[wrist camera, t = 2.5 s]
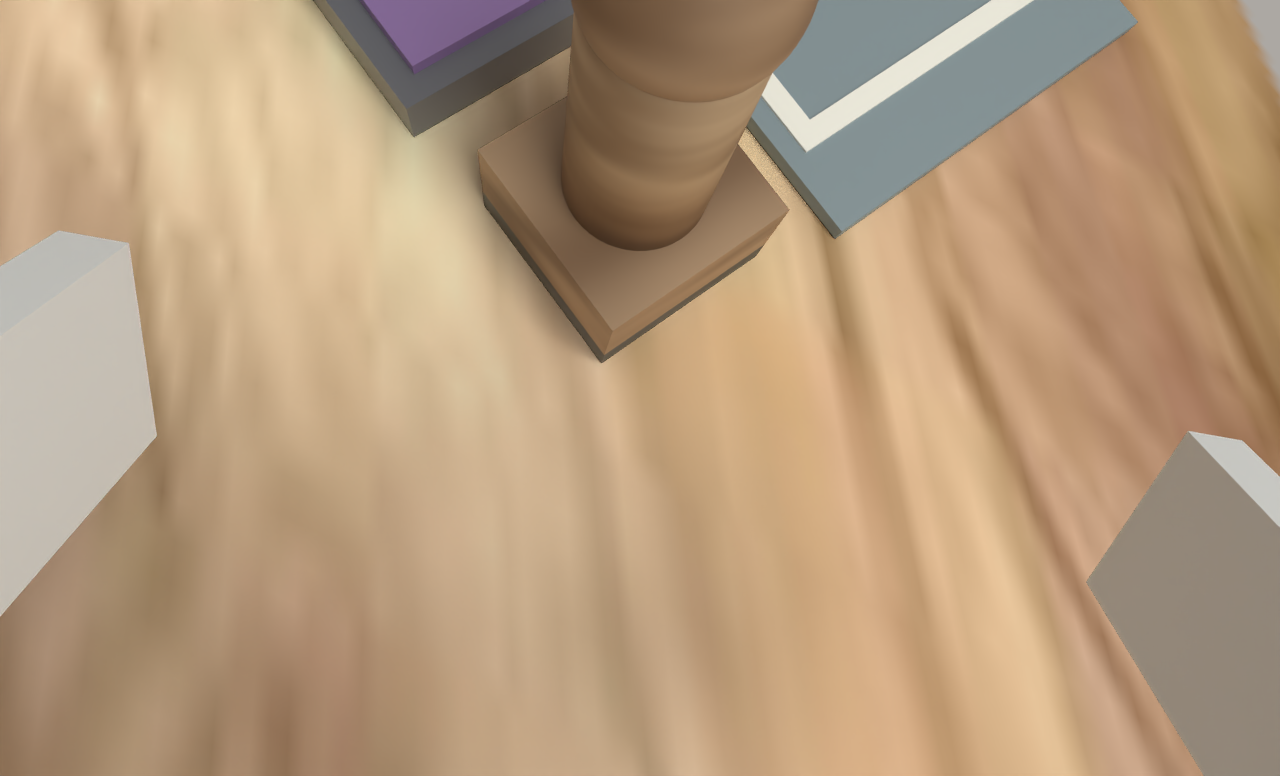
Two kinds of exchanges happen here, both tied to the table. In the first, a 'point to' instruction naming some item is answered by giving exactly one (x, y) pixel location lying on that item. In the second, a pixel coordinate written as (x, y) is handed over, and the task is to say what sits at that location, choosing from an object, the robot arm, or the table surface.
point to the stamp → (644, 160)
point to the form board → (912, 88)
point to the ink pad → (447, 48)
